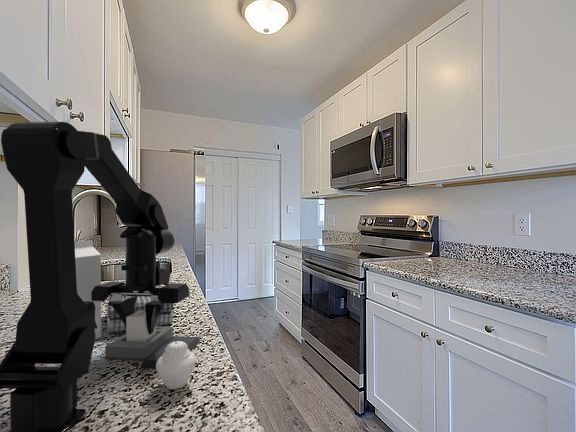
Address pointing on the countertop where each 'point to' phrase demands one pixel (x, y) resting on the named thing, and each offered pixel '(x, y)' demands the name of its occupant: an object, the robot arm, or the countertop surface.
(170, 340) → the phone
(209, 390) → the countertop surface
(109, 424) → the countertop surface
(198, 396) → the countertop surface
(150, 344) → the grey tray
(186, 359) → the white ribbed lump
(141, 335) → the block
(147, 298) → the towel
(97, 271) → the milk
